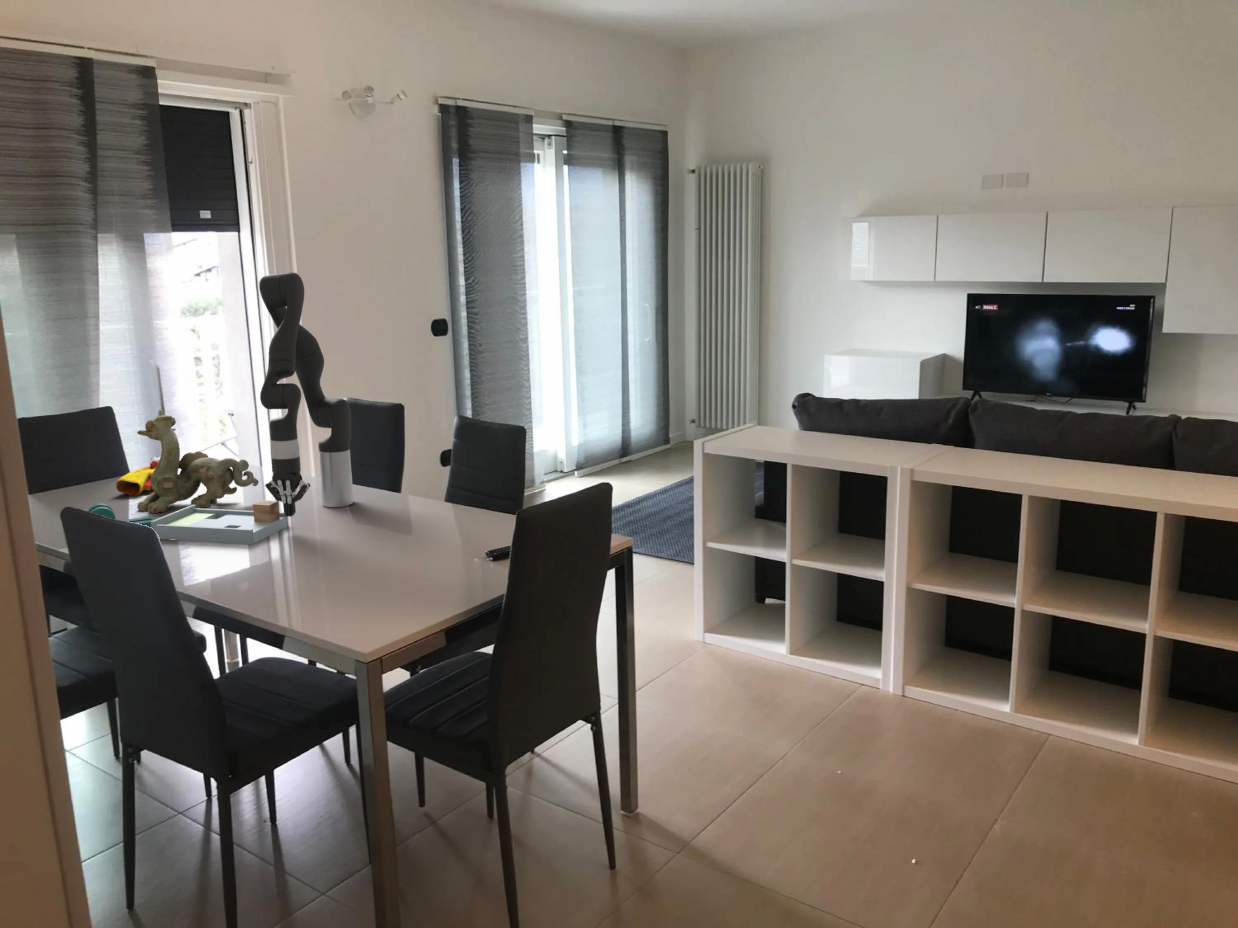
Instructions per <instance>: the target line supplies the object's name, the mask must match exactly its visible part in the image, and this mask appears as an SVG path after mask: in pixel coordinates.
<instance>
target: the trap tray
mask: <svg viewBox="0 0 1238 928" xmlns="http://www.w3.org/2000/svg"><path fill="white" fill-rule="evenodd" d="M279 513H280V518H279V519H277V520H275V521H273V522H271V523H270V522H254V513H253V510H240V509H225V508H224V509H222V508H221V509H220V508H196V505H191V504H190V505H189V506H186V507H184V508H181V509H179V510H177V511H174V512H171V513H168V514H166V515H163V516H161V517H158V519H155V520H153V521H151V527H152V528H153V529H154V530H155V531H156V532H157V534H158V535H159V537H160V539H175V540H174V541H178V540H185V542H198V543H201V542H202V543H214V542H215V544H217V543H219V544H235V545H249V546H250V545H254V544H256V543H257V542H260V541H262V540H264V539H266V538H268V537H269V536H271V535H274V534H276V533H277V532H280V531H282V530H284V529H285V528H287V527H289V516H286V514H284V511H279ZM160 539H159V540H160Z"/></svg>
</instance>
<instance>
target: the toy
mask: <svg viewBox="0 0 1238 928" xmlns="http://www.w3.org/2000/svg"><path fill="white" fill-rule="evenodd" d="M160 457H161V455H160V456H159V457H155V456H152V457H151V458H150V460H151V461H150V462H149V465H148V466H143V467H141V468H138V469H136V470H135V471H129V472H128V473H126V474H124V475H123V476H122V477H120V478H118V480H117V481H116V483H115V487H116V490H117V491H118V493H121V494H126V495H129V496H133V497H137V496H140V495H141V493H142V492H143V491H144V490H145V491H153V489H152V487H151V476H152V473H153V471H154V470H155V469H156V467H157V465H158V463H159V460H160Z"/></svg>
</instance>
